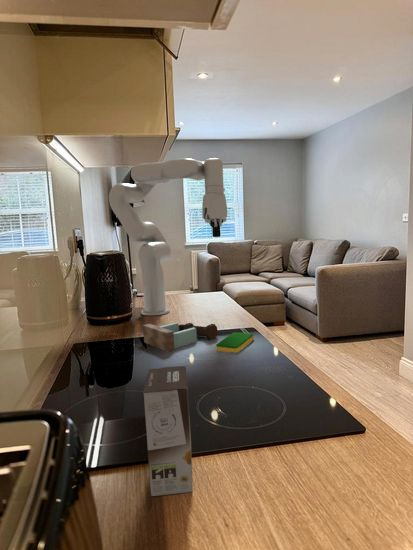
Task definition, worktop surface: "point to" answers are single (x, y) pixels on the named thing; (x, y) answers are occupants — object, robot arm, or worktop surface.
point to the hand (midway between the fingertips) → (216, 236)
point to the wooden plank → (159, 337)
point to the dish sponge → (234, 342)
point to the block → (181, 335)
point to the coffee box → (168, 430)
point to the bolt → (202, 330)
